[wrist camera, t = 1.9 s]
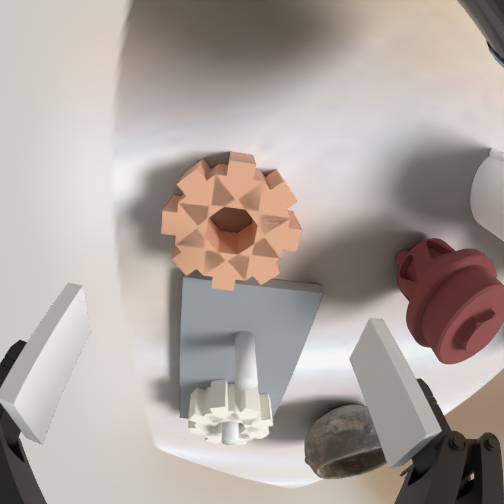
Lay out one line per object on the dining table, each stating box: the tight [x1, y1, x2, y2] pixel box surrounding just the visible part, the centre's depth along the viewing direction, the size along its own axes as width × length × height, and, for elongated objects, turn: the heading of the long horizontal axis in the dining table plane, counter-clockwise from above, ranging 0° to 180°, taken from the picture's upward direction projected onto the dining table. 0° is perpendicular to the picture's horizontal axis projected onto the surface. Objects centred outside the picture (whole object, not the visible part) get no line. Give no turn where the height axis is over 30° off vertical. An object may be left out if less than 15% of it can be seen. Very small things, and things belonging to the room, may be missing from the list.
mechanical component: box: [395, 238, 504, 364], centre depth 23 cm, size 12×10×10 cm
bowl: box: [305, 405, 387, 479], centre depth 37 cm, size 14×15×10 cm
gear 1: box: [161, 152, 302, 291], centre depth 24 cm, size 10×10×4 cm
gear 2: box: [188, 379, 273, 445], centre depth 34 cm, size 10×10×4 cm
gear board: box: [180, 270, 323, 445], centre depth 31 cm, size 24×13×8 cm, turn 170°
